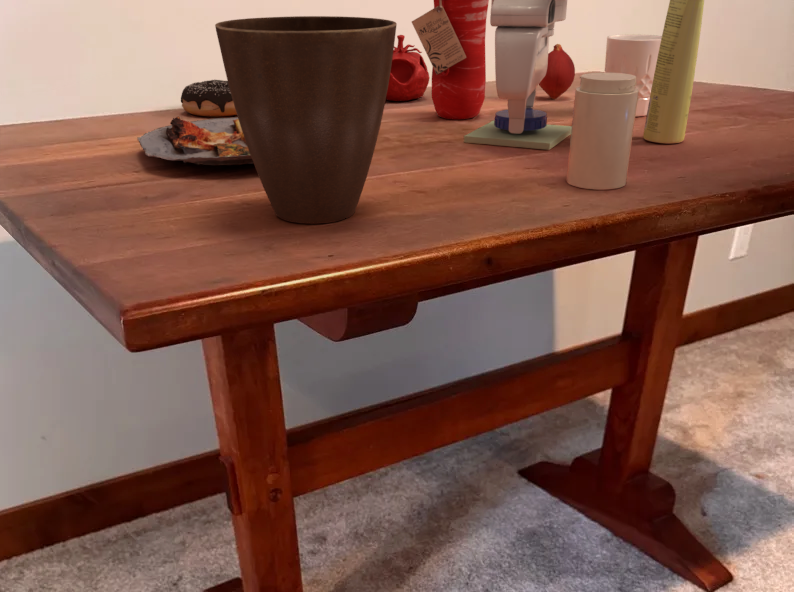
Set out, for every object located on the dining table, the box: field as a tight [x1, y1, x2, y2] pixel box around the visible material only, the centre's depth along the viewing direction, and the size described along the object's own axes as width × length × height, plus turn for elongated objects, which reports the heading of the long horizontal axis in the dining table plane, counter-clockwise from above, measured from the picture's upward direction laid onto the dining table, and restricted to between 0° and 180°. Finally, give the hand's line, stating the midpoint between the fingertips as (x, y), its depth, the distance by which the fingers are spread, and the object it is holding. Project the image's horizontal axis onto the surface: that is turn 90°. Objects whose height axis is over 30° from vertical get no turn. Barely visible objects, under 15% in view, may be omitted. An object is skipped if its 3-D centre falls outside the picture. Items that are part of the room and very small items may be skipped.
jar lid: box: [493, 108, 548, 131], centre depth 100 cm, size 6×6×2 cm
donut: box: [180, 79, 237, 118], centre depth 119 cm, size 11×12×4 cm
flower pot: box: [214, 15, 398, 225], centre depth 70 cm, size 15×15×16 cm
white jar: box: [565, 71, 639, 191], centre depth 80 cm, size 6×6×10 cm
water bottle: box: [411, 0, 490, 120], centre depth 107 cm, size 12×8×25 cm, turn 135°
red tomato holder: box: [385, 34, 430, 102], centre depth 126 cm, size 10×10×9 cm
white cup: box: [604, 33, 662, 118], centre depth 113 cm, size 8×8×10 cm
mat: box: [463, 119, 572, 151], centre depth 101 cm, size 11×11×1 cm
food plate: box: [136, 116, 254, 166], centre depth 95 cm, size 25×23×4 cm
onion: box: [538, 43, 576, 100], centre depth 124 cm, size 6×6×8 cm
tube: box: [642, 0, 705, 144], centre depth 94 cm, size 6×5×20 cm
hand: (520, 126), depth 101 cm, fingers closed on jar lid, 6 cm apart
